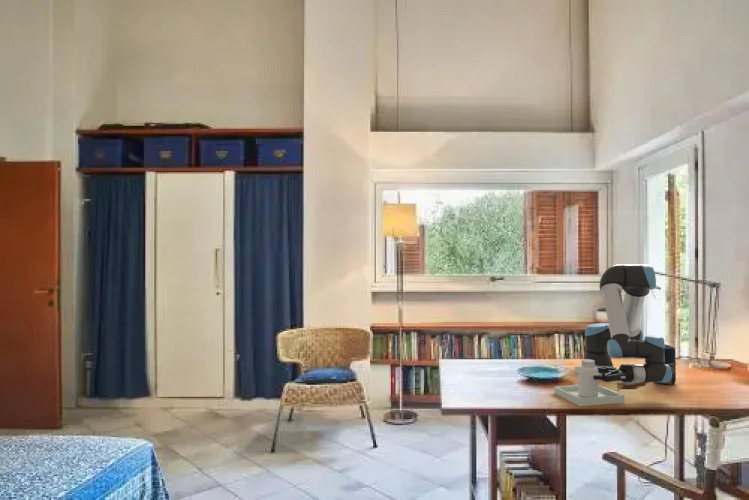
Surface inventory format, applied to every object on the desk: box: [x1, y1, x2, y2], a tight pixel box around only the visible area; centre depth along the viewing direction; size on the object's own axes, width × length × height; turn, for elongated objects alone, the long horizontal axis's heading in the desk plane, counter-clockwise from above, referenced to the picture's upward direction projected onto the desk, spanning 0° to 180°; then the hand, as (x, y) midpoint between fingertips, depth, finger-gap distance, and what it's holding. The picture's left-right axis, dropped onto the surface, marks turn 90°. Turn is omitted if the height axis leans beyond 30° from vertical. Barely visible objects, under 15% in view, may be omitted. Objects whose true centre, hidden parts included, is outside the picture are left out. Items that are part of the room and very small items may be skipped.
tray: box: [553, 384, 625, 407], centre depth 237 cm, size 20×20×3 cm
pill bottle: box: [577, 358, 599, 398], centre depth 237 cm, size 8×8×15 cm
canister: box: [656, 344, 677, 385], centre depth 260 cm, size 10×10×18 cm
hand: (579, 373), depth 237 cm, fingers open, 13 cm apart
